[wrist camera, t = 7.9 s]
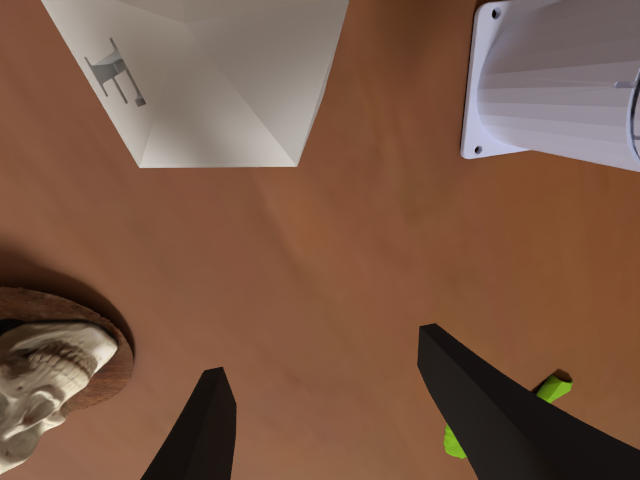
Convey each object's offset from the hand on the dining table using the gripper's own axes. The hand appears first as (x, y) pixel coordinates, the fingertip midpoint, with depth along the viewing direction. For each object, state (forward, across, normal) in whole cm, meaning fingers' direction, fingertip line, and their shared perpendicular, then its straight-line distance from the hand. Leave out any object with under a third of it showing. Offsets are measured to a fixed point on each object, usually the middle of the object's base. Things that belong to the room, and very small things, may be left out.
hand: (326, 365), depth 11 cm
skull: (+12, +19, +2) cm, 23 cm away
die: (+11, +2, -10) cm, 15 cm away
